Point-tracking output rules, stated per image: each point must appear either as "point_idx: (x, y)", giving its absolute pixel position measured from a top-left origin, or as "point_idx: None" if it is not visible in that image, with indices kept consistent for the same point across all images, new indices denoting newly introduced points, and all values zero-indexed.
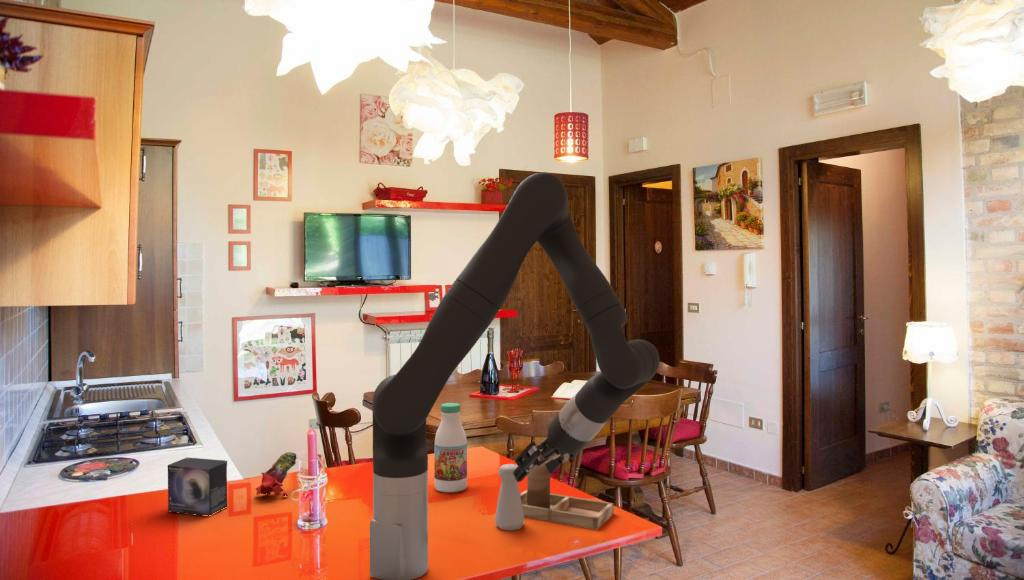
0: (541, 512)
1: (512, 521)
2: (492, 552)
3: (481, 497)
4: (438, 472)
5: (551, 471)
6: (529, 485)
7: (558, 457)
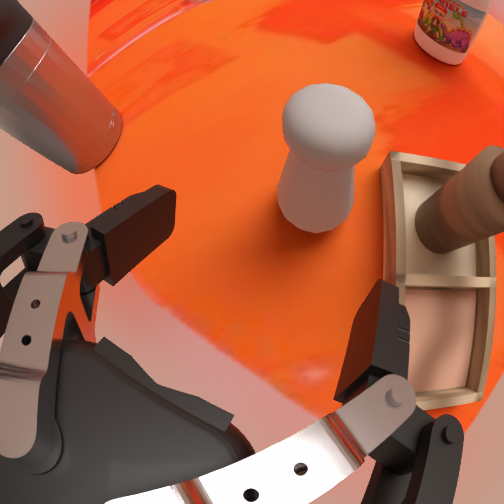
0: (393, 254)
1: (284, 213)
2: (185, 223)
3: (442, 93)
4: (420, 13)
5: (353, 324)
6: (446, 186)
7: (353, 394)
